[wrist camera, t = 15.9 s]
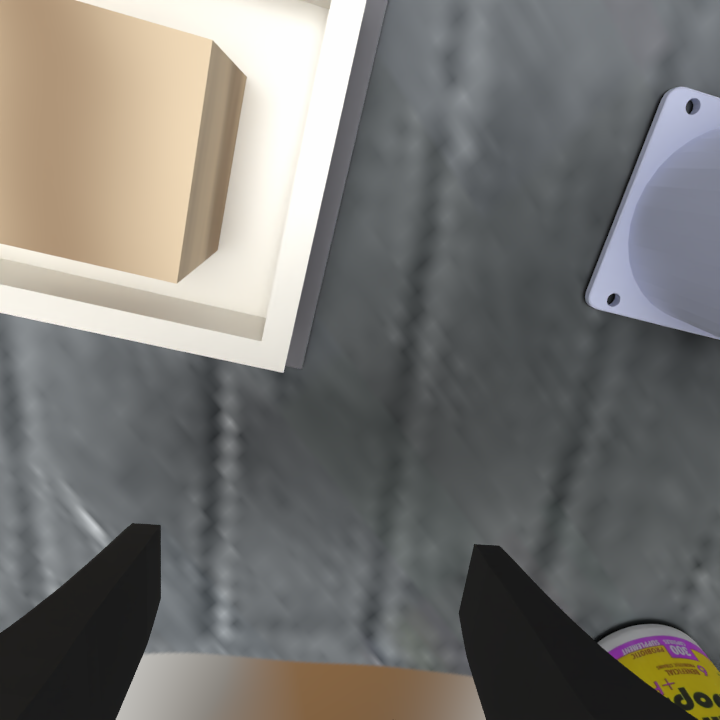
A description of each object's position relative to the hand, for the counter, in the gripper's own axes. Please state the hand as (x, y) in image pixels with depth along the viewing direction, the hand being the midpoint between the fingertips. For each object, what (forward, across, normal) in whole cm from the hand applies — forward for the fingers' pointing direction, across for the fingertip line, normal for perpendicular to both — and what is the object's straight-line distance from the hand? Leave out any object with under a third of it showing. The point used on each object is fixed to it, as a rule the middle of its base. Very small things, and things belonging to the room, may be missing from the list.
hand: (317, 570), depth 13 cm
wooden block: (+7, +6, -9) cm, 13 cm away
